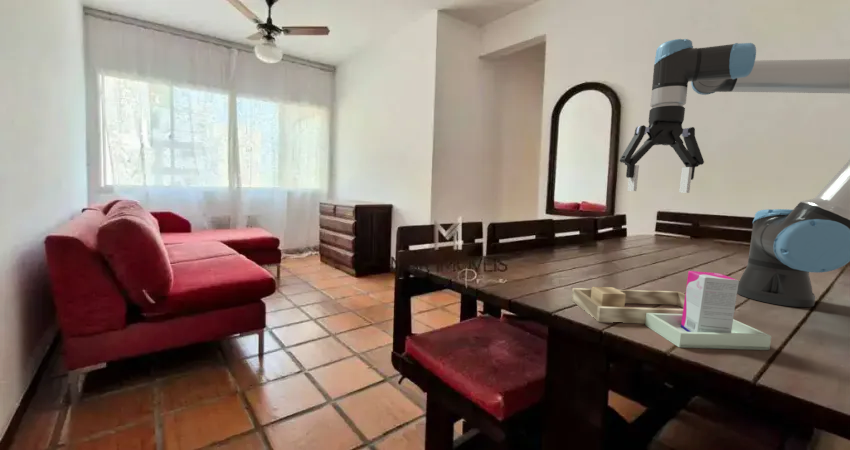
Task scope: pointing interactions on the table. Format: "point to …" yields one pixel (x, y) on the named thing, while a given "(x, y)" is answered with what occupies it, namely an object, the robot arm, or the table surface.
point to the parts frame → (629, 313)
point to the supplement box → (709, 302)
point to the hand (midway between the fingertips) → (658, 191)
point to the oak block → (608, 296)
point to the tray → (707, 334)
